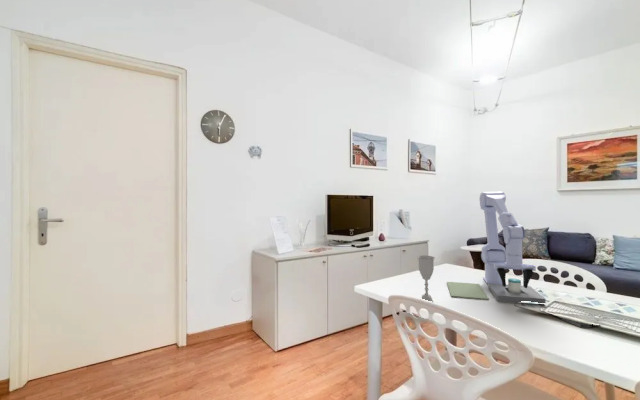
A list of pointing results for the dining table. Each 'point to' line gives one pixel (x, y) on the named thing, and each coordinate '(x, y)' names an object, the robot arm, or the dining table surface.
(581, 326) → the phone
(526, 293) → the housing
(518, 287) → the cylinder
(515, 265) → the robot arm
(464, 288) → the mat
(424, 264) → the chalice
